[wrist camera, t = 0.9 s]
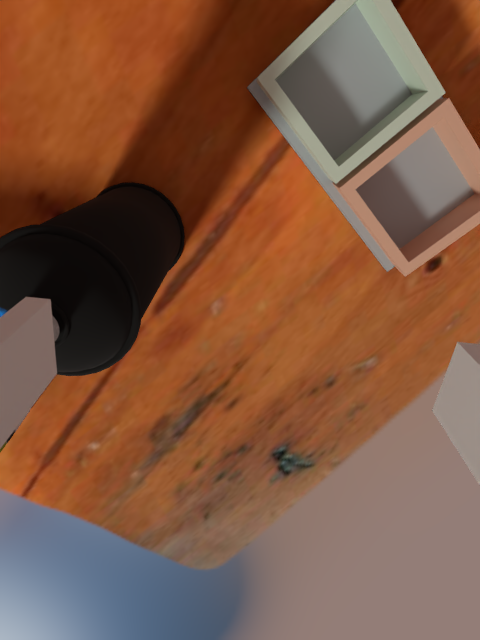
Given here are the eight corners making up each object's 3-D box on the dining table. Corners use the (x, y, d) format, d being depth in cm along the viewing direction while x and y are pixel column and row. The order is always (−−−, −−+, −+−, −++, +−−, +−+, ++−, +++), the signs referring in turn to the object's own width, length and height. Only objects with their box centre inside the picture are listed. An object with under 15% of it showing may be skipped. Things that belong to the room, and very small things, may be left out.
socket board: (247, 88, 31) (246, 83, 27) (362, -26, 28) (378, -47, 24) (383, 268, 36) (398, 284, 33) (492, 188, 34) (521, 196, 30)
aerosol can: (173, 174, 34) (82, 234, 16) (193, 273, 37) (138, 416, 19) (74, 190, 34) (-125, 264, 16) (102, 285, 38) (-36, 435, 20)
